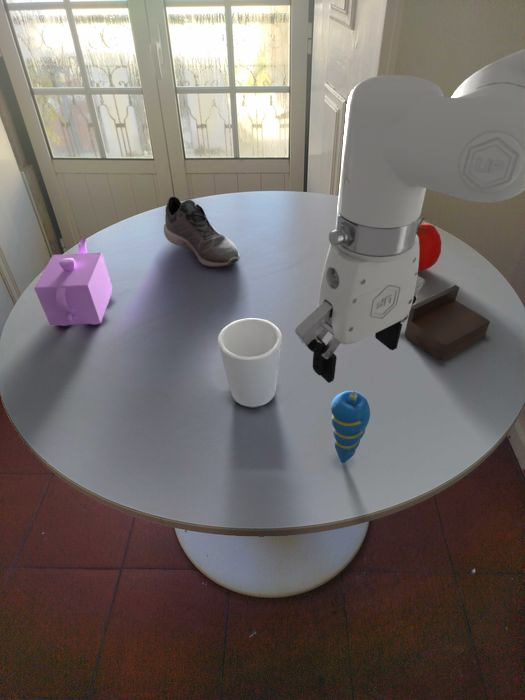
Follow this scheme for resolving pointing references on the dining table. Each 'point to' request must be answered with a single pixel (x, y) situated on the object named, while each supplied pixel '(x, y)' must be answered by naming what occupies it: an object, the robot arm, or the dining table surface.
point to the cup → (251, 360)
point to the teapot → (75, 288)
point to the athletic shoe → (197, 234)
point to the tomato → (428, 245)
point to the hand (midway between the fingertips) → (355, 358)
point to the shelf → (444, 324)
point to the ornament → (349, 422)
